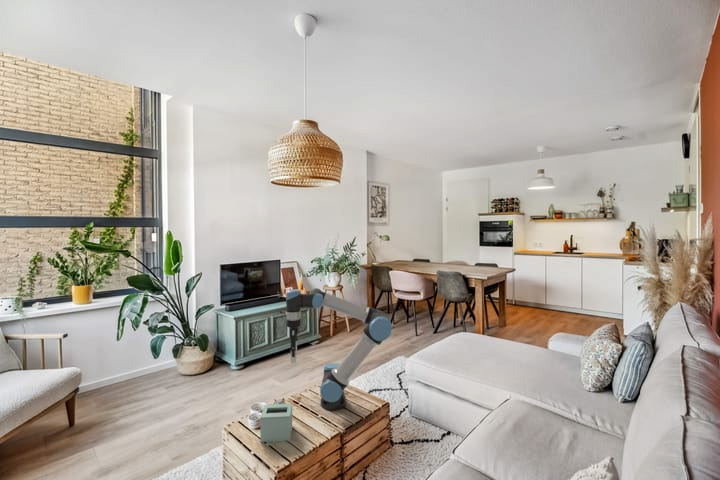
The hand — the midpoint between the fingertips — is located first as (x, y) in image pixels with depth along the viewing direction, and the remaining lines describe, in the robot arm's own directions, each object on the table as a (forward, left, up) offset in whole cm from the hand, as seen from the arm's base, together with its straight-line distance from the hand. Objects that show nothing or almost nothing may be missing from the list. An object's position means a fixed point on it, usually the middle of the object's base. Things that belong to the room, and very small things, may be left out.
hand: (294, 357), depth 188 cm
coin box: (+7, +15, -32) cm, 37 cm away
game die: (+8, -3, -33) cm, 34 cm away
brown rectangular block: (+7, +15, -31) cm, 35 cm away
